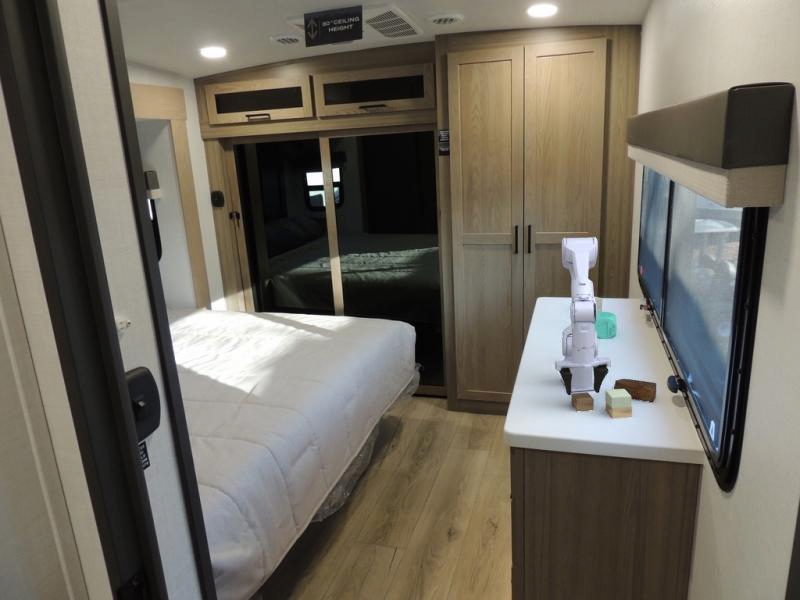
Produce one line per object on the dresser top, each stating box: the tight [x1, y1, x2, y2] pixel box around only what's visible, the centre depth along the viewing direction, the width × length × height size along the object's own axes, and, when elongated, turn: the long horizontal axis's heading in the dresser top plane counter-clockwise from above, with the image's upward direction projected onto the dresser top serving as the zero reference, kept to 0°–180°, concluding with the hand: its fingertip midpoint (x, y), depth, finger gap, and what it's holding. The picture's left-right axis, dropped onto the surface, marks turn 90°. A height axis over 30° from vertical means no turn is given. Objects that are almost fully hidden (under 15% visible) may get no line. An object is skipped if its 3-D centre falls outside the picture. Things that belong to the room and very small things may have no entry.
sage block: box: [604, 388, 632, 408], centre depth 153 cm, size 5×5×3 cm
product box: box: [594, 295, 603, 312], centre depth 240 cm, size 6×6×7 cm
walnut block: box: [570, 391, 595, 412], centre depth 159 cm, size 4×4×4 cm
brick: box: [613, 378, 657, 403], centre depth 163 cm, size 11×4×5 cm, turn 56°
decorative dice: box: [593, 311, 618, 340], centre depth 214 cm, size 8×8×8 cm
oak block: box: [605, 401, 633, 419], centre depth 154 cm, size 5×5×3 cm
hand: (582, 392), depth 158 cm, fingers open, 7 cm apart
